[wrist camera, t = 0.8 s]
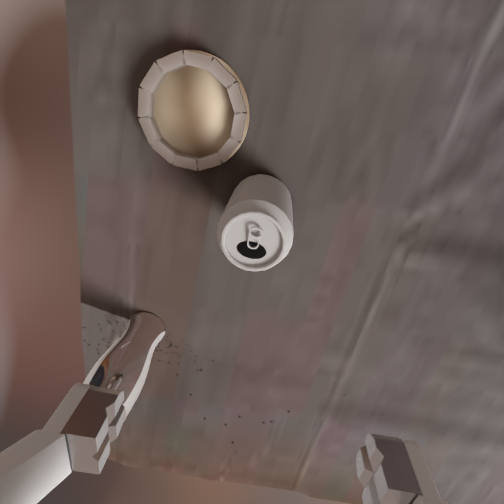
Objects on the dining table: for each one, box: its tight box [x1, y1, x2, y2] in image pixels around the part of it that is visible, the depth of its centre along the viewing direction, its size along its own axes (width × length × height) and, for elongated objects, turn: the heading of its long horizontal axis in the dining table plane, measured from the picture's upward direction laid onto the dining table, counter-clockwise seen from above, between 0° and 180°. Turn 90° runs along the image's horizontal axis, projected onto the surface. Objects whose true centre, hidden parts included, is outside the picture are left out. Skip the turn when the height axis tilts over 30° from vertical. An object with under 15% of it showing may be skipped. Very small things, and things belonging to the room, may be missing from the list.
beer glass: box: [83, 312, 165, 422], centre depth 45 cm, size 7×7×15 cm
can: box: [217, 174, 294, 271], centre depth 35 cm, size 8×8×12 cm
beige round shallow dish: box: [138, 50, 250, 171], centre depth 35 cm, size 12×12×2 cm
